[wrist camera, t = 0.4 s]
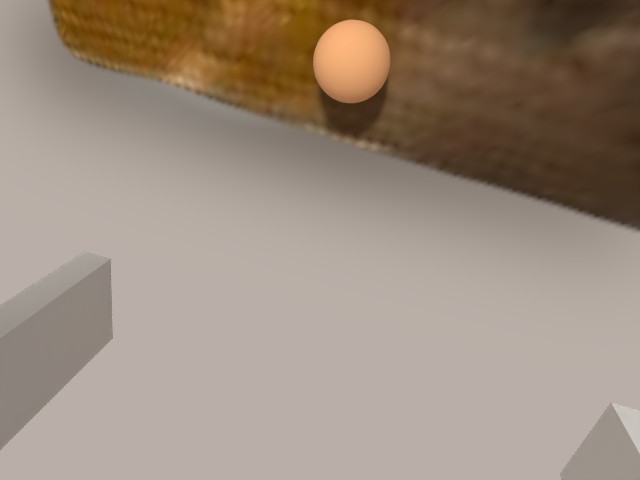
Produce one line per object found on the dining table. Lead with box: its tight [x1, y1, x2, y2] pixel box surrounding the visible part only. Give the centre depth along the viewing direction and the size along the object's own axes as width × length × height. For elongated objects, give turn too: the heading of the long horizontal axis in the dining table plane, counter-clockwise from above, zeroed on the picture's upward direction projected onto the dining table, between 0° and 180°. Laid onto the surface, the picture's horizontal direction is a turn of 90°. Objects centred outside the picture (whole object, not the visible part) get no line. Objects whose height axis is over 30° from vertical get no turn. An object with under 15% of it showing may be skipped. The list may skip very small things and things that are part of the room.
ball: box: [313, 20, 390, 103], centre depth 31 cm, size 6×6×6 cm
